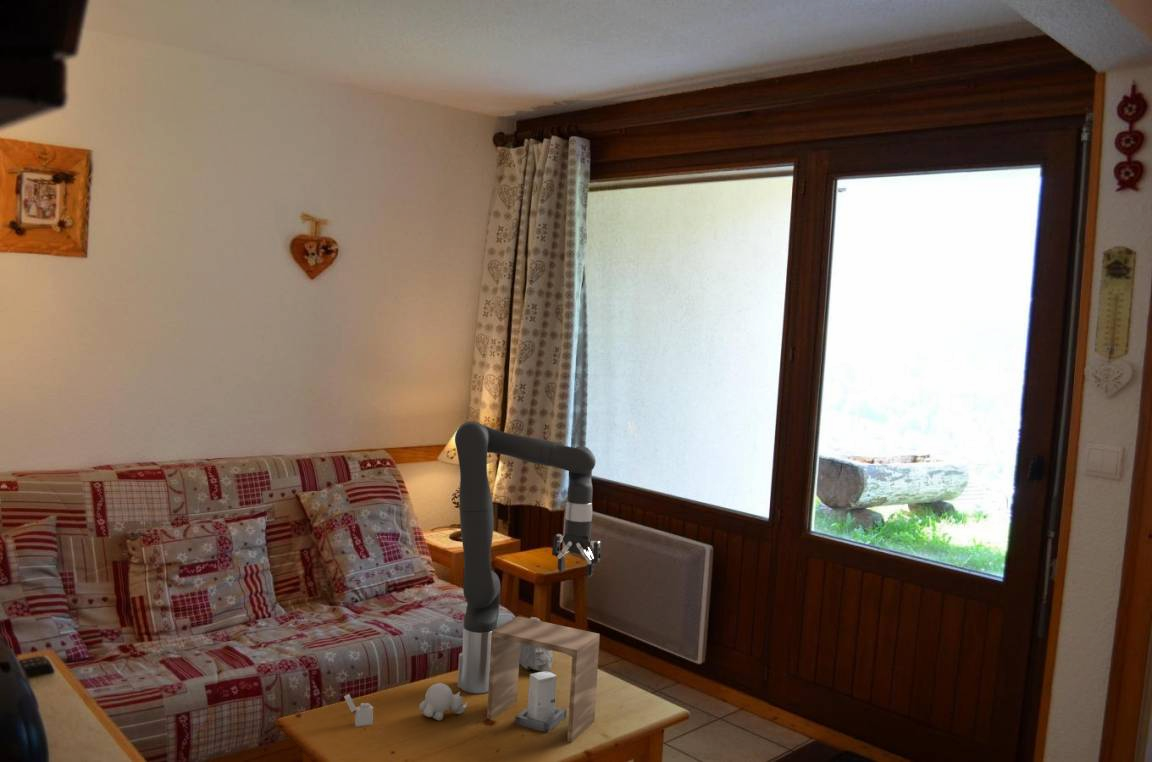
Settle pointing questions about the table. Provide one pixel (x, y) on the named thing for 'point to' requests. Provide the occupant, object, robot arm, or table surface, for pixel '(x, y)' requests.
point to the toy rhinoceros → (441, 701)
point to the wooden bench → (550, 638)
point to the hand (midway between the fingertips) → (575, 573)
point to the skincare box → (541, 696)
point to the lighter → (361, 712)
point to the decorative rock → (535, 656)
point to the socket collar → (540, 725)
